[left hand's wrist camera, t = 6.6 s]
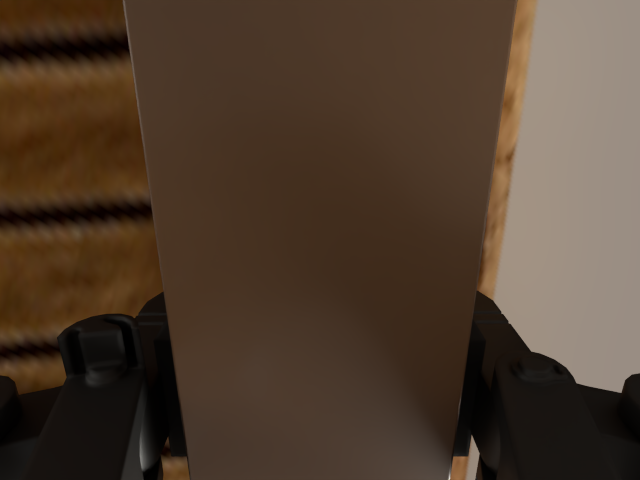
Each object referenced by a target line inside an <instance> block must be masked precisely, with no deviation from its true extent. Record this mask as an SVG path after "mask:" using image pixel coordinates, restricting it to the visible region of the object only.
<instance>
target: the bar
mask: <svg viewBox="0 0 640 480" xmlns="http://www.w3.org/2000/svg"><path fill="white" fill-rule="evenodd" d="M123 6H124V14H125V21H126V28H127V35H128V42H129V49H130V56H131V63H132V70H133V77H134V85H135V92H136V99H137V106H138V113H139V120H140V127H141V134H142V141H143V148H144V156H145V163H146V170H147V177H148V184H149V191H150V198H151V205H152V212H153V219H154V227H155V234H156V241H157V248H158V255H159V262H160V269H161V276H162V283H163V290H164V297H165V305H166V312H167V319H168V326H169V333H170V340H171V347H172V354H173V361H174V368H175V376H176V383H177V390H178V397H179V404H180V411H181V418H182V425H183V432H184V439H185V447H186V454H187V461H188V468H189V475H190V480H450V475H451V468H452V461H453V454H454V447H455V440H456V433H457V425H458V418H459V411H460V404H461V397H462V390H463V383H464V376H465V369H466V361H467V354H468V347H469V340H470V333H471V326H472V319H473V312H474V305H475V298H476V290H477V283H478V276H479V269H480V262H481V255H482V248H483V241H484V234H485V226H486V219H487V212H488V205H489V198H490V191H491V184H492V177H493V170H494V163H495V155H496V148H497V141H498V134H499V127H500V120H501V113H502V106H503V99H504V91H505V84H506V77H507V70H508V63H509V56H510V49H511V42H512V35H513V27H514V20H515V13H516V6H517V0H123Z"/></svg>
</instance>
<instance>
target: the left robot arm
mask: <svg viewBox="0 0 640 480" xmlns="http://www.w3.org/2000/svg"><path fill="white" fill-rule="evenodd" d="M57 339H58V343H59V347H60V351H61V355H62V360H63V364H64V368H65V372H66V376H67V378H66V380H65V382H64V385H63V386H59V387H55V388H51V389H46V390H41V391H37V392H32V393H27V394H22V395H19V394H18V391H17V388H16V384H15V382H14V381H13V380H12V379H10V378H9V377H7V376H0V480H163V468H162V461H161V455H160V454H161V452H162V449H163V447H164V445H165V442H166V440H167V437H169V443H170V450H171V456H187V454H186V447H185V439H184V432H183V425H182V418H181V411H180V404H179V397H178V390H177V383H176V376H175V368H174V361H173V354H172V347H171V340H170V333H169V326H168V319H167V312H166V305H165V297H164V292H162V293H160V294H159V295H157V296H156V297H154V298H152V299H151V300H149V301H148V302H147V303H146V304H145V305H144V307H143V308H142V309H141V311H140V312H139V315H138V316H136V317H135V319H134V318H133V317H132V316H128V315H124V314H104V315H98V316H93V317H90V318H87V319H84V320H81V321H79V322H76V323H75V324H73V325H71V326H70V327H68V328H66V329H65V330H64V331H63V332H62V333H61V334H60V335H59V336H58V337H57ZM471 435H472V436H473V438H474V441H475V443H476V446H477V448H478V450H479V453H480V455H479V461H478V467H477V473H476V479H475V480H640V374H634V375H631V376H630V377H629V378H627V379H626V380H625V383H624V386H623V390H622V393H618V392H613V391H608V390H603V389H598V388H593V387H588V386H584V385H581V384H577V383H576V382H575V379H574V377H573V376H572V375H571V373H570V372H569V371H568V369H567V368H566V367H564V366H563V365H562V364H560V363H559V362H557V361H556V360H554V359H552V358H549V357H547V356H545V355H542V354H539V353H535V352H531V351H530V349H529V348H528V347H527V345H526V344H525V343H524V341H523V340H522V339H521V337H520V336H519V335H518V333H517V332H516V331H515V329H514V328H513V327H512V325H511V324H509V323H508V320H507V319H506V317H505V316H504V315H503V314H501V311H500V309H499V308H498V307H497V305H496V304H495V303H494V301H493V300H491V299H490V298H488V297H487V296H485V295H483V294H482V293H480V292H479V291H476V298H475V305H474V312H473V319H472V326H471V333H470V340H469V347H468V354H467V361H466V369H465V376H464V383H463V390H462V397H461V404H460V411H459V418H458V425H457V433H456V440H455V447H454V454H453V456H468V454H469V448H470V441H471Z"/></svg>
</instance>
